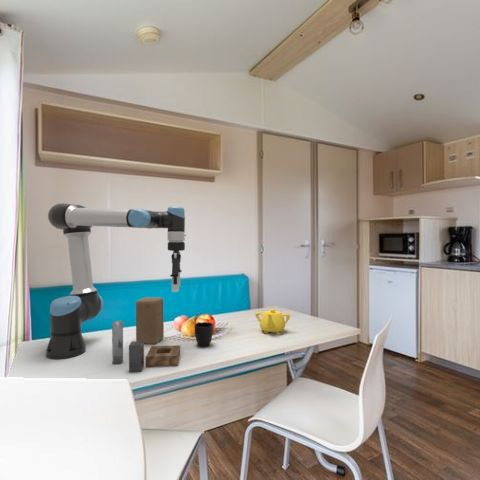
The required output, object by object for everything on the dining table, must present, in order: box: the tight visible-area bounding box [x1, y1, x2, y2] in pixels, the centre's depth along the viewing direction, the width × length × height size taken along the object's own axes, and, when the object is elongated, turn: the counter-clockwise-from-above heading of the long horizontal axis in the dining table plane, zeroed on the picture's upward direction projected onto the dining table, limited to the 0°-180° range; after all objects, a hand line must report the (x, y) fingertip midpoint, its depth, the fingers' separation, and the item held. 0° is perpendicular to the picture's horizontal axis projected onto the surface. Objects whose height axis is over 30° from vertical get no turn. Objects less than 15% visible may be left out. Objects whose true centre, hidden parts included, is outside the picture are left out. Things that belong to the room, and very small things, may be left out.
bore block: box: [145, 344, 181, 368], centre depth 135 cm, size 12×12×4 cm
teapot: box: [255, 308, 291, 336], centre depth 174 cm, size 14×14×12 cm
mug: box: [194, 321, 214, 348], centre depth 155 cm, size 8×12×10 cm
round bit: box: [111, 320, 124, 365], centre depth 133 cm, size 4×4×16 cm
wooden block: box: [135, 296, 165, 345], centre depth 160 cm, size 10×10×20 cm
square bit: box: [128, 340, 145, 373], centre depth 126 cm, size 4×4×10 cm
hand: (176, 289), depth 150 cm, fingers open, 13 cm apart
